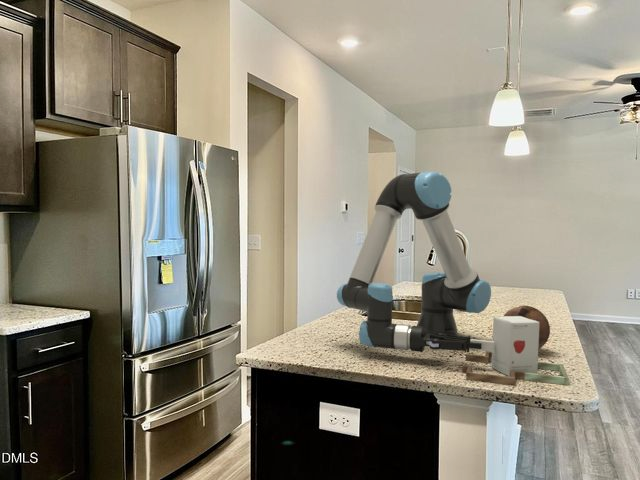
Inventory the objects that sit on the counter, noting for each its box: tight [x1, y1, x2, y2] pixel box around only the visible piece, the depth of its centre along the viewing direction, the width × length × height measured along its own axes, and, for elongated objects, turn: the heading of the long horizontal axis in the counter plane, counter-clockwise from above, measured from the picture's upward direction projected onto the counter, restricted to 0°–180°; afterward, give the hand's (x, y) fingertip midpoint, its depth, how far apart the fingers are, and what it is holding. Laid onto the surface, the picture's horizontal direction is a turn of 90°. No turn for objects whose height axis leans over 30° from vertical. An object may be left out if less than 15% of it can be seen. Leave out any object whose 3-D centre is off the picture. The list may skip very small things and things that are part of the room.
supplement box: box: [490, 315, 539, 377], centre depth 137 cm, size 9×9×15 cm
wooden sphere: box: [503, 305, 551, 350], centre depth 160 cm, size 15×15×15 cm
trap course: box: [461, 351, 570, 386], centre depth 137 cm, size 26×26×2 cm
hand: (494, 346), depth 138 cm, fingers closed
